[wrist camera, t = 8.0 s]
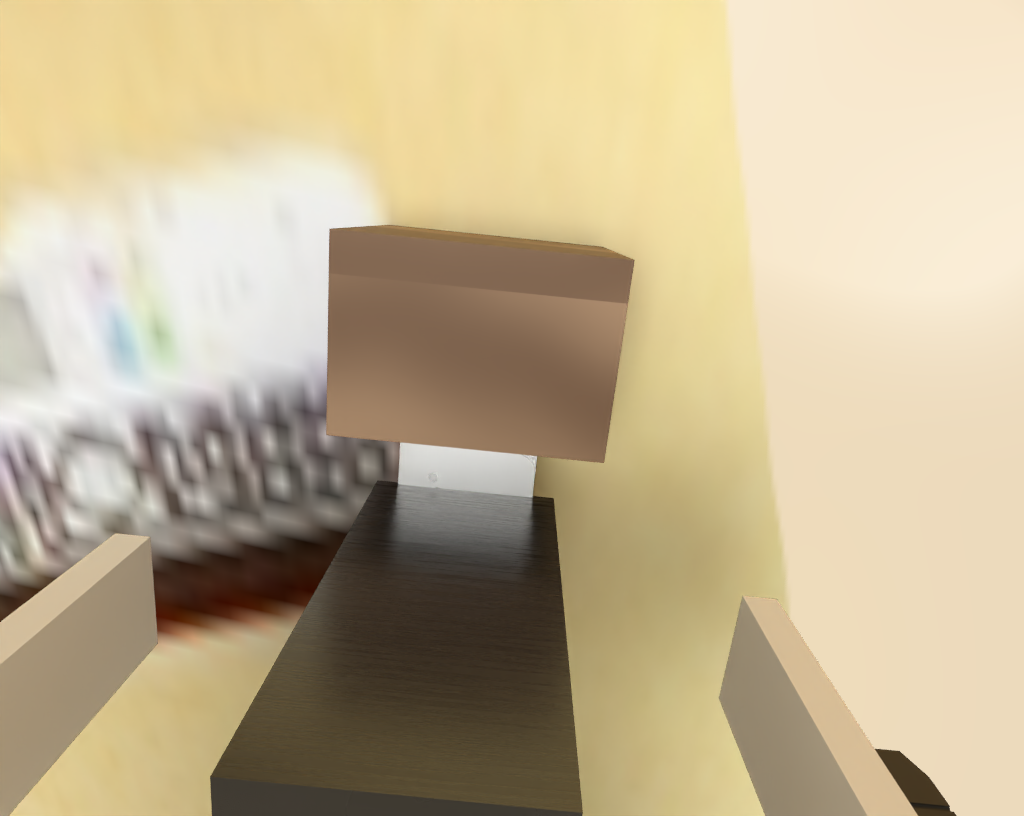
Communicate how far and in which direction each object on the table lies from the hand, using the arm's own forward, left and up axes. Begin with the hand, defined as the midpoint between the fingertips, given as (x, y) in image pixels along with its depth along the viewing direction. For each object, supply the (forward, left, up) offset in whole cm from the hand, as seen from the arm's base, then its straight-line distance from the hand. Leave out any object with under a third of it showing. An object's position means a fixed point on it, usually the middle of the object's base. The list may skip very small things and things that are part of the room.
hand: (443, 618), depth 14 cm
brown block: (+5, 0, -9) cm, 11 cm away
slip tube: (-4, 0, -8) cm, 9 cm away
